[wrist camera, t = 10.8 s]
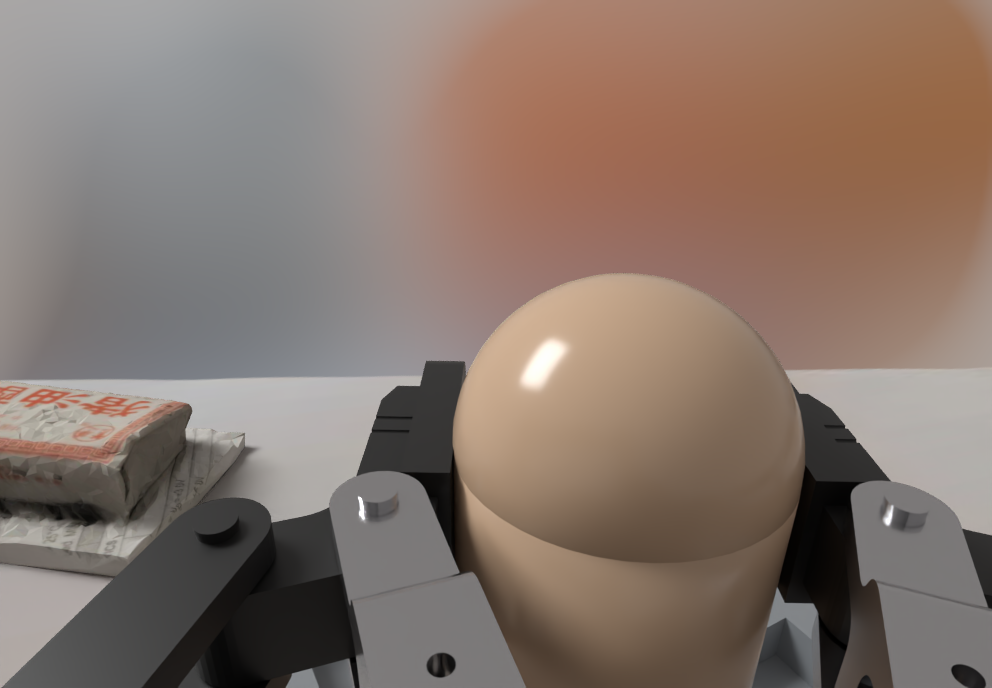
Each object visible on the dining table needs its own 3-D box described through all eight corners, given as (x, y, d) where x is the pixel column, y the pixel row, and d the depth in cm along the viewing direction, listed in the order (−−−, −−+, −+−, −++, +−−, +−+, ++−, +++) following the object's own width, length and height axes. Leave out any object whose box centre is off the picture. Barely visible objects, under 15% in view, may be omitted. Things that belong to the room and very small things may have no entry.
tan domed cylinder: (415, 702, 14) (392, 257, 10) (610, 611, 16) (657, 217, 12) (548, 971, 10) (599, 416, 6) (782, 803, 12) (936, 316, 8)
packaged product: (-287, 447, 29) (-73, 344, 37) (-235, 537, 31) (-44, 420, 40) (109, 495, 26) (237, 373, 35) (136, 590, 28) (251, 452, 37)
